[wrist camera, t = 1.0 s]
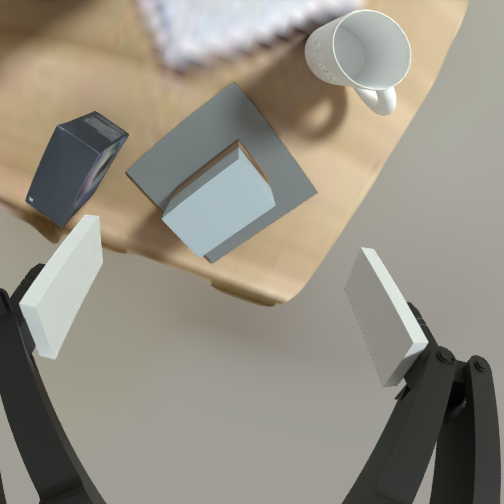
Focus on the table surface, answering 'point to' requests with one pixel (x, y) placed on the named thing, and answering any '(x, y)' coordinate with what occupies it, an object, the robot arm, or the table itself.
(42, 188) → the small box
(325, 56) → the mug
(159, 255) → the table surface
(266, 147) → the mat
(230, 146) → the block bottom
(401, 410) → the robot arm
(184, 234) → the block top
